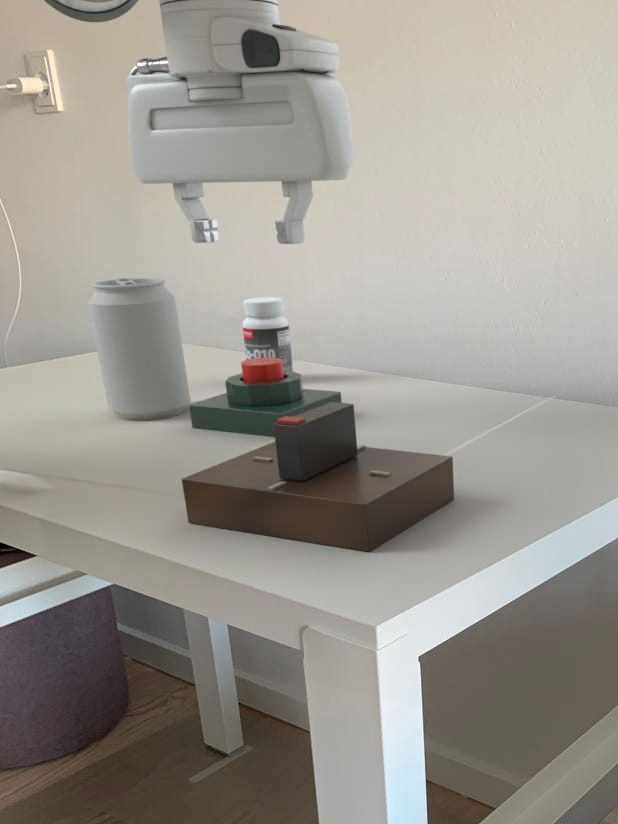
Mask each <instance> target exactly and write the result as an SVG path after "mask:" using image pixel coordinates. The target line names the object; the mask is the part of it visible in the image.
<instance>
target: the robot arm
mask: <svg viewBox="0 0 618 824" xmlns="http://www.w3.org/2000/svg"><path fill="white" fill-rule="evenodd" d="M43 1H44V2H45V3H46V4H47V5H49V6H50V7H52V8H53V9H54V10H55V11H57V12H59V13H60V14H62V15H64V16H67V17H68V18H72V19H74V20H76V21H81V22H86V23H104V22H110V21H113V20H116V19H118V18H120V17H123V15H125V14H127V13H128V12H130V10H132V9H133V7H134V6H135V5H137V3H138V1H139V0H43ZM158 2H159V3H158V4H159V11H160V16H161V24H162V32H163V39H164V45H165V51H166V56H162V57H159V58H151V57H144V58H141V59H138V60H137V61H136V63H135V66H133V68H132V69H131V71H130V72H129V75H128V76H127V77H126V90H127V97H128V98H127V99H128V100H127V106H126V107H127V108H126V112H127V114H126V115H127V116H126V117H127V132H128V133H127V135H128V137H127V138H128V147H129V148H128V149H129V150H128V151H129V158H130V165H131V170H132V172H133V173H134V175H135V176H136V178H137V179H138V181H140V182H139V183H141V184H143V185H151V184H153V185H154V184H161V185H162V184H172V188H173V195H174V200H175V201H176V203H177V204H178V206H179V209H181V211H182V213H183V215H184V216H185V217H186V219H187V220H188V221H189V227H190V234H191V239H192V241H193V242H194V243H195V244H211V243H217V242H218V241H219V240H220V239H219V238H220V235H219V234H220V233H219V232H218V228H219V226H218V220H217V219H216V218H214V219H213V218H210V217H209V215H208V212H207V211H206V209H205V207H204V205H203V203H202V201H201V199H200V198H204V197H205V193H204V192H205V191H204V184H205V183H206V184H212V183H214V184H216V183H263V182H265V183H266V182H267V183H270V182H281V188H282V189H281V190H282V196H283V197H284V198H288V201H287V205H286V209H285V212H284V215H283V219H281V220H275V231H276V232H277V234H276V241H277V242H278V243H279V244H280V245H298V244H303V243H304V241H305V229H304V220H305V217H306V215H307V212H308V210H309V207H310V206H311V205H310V204H311V203H312V199H313V197H314V193H313V192H314V191H313V182H318V181H319V182H320V181H321V182H322V181H325V182H326V181H342V180H343V181H344V180H346V179H347V178H348V176H349V174H350V173H351V170H352V168H353V166H354V162H355V161H354V160H355V154H354V140H353V130H352V122H351V115H350V110H349V103H348V99H347V95H346V92H345V90H344V87H343V86H342V84H341V82H340V81H339V80H338V79H337V78H336V77H335V76H333V75H334V74H335V73H337V72H338V71H339V68H340V63H341V62H340V61H341V59H340V50H339V47H338V45H337V44H336V43H335V42H333V41H331V40H329V39H326V38H323V37H320V36H317V35H315V34H311V33H308V32H305V31H302V30H299V29H297V28H295V27H292V26H290V25H285V24H282V22H281V17H280V7H279V1H278V0H158ZM137 73H139V74H137Z"/></svg>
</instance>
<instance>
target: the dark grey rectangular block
mask: <svg viewBox="0 0 618 824" xmlns="http://www.w3.org/2000/svg"><path fill="white" fill-rule="evenodd" d="M273 426H274V434H275V437H274V442H275V443H276V451H277V460H278V468H279V477H280V478H282V479H289V480H297V481H304V480H306V479H308V478H310V477H312V476H314V475H317V474H319V473H321V472H323V471H325V470H327V469H329V468H331V467H333V466H336V465H338V464H340V463H342V462H344V461H346V460H348V459H350V458H352V457H355V456H357V455H358V452H357V446H358V443H357V442H358V441H357V430H356V418H355V404H353V403H347V402H342V403H337V402H330V403H328V404H325V405H322V406H320V407H317V408H315V409H312V410H309V411H307V412H304V413H301V414H299V415H296V416H293V417H290V416H285V417H282V418H280V419H277V423H275V424H274V425H273Z"/></svg>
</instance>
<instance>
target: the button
mask: <svg viewBox="0 0 618 824" xmlns="http://www.w3.org/2000/svg"><path fill="white" fill-rule="evenodd" d="M240 366H241V374H242V375H243V382H251V383H258V382H272V381H279V380H282V379H285V378H284V369H283V361H282V359H279V358H255V359H249V360H246V359H245V360H243V361H241V362H240Z"/></svg>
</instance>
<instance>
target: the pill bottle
mask: <svg viewBox="0 0 618 824" xmlns="http://www.w3.org/2000/svg"><path fill="white" fill-rule="evenodd" d="M243 308H244V315H245V316H247V317H246V318H245V319H243V321H242V333H243V341H244V342H243V343H244V351H245V360H249V359H255V358H279V359H282V361H283V369H284V371H293V372H294V366H293V356H292V345H291V336H290V335H291V334H290V326H289V321H288V319H287V318H286V316H283V314H284V313H285V305H284V298H282V297H277V296H275V297H274V296H266V297H265V296H263V297H253V298H248V299H244V300H243Z"/></svg>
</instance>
